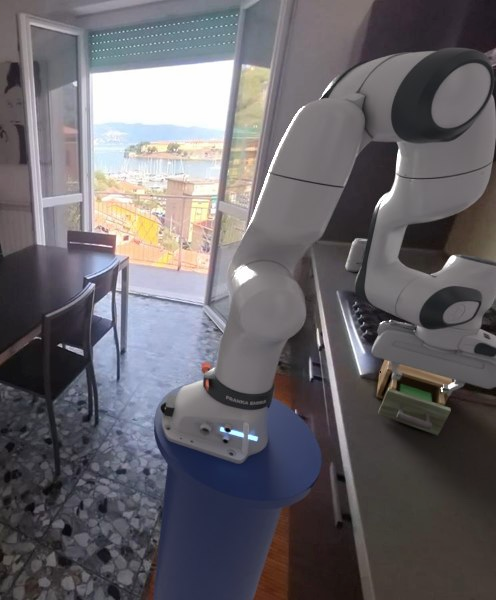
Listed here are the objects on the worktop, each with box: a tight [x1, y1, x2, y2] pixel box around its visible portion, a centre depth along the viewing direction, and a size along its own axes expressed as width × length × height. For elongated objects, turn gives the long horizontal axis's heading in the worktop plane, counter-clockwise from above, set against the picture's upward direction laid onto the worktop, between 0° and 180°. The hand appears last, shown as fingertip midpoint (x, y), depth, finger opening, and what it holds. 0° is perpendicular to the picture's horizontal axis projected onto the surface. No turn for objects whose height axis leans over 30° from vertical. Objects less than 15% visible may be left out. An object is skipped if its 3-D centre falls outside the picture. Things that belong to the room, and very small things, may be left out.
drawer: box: [377, 373, 452, 436], centre depth 80 cm, size 17×10×7 cm, turn 141°
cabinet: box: [375, 359, 453, 404], centre depth 88 cm, size 14×12×9 cm
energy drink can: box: [345, 237, 367, 273], centre depth 168 cm, size 6×6×15 cm
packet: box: [397, 384, 432, 402], centre depth 81 cm, size 4×6×4 cm
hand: (419, 386), depth 79 cm, fingers open, 7 cm apart
